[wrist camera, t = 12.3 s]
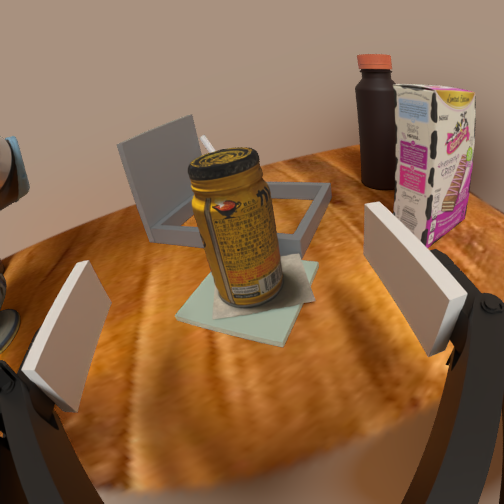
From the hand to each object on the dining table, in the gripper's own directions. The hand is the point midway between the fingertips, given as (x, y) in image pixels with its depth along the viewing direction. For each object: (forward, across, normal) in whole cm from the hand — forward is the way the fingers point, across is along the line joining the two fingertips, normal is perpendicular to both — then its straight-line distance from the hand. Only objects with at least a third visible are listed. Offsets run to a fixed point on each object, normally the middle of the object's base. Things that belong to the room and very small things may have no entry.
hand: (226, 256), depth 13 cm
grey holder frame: (+25, +1, -11) cm, 27 cm away
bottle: (+29, +23, -11) cm, 38 cm away
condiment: (+10, +1, -10) cm, 14 cm away
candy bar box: (+14, +22, -11) cm, 29 cm away
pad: (+10, 0, -10) cm, 14 cm away
